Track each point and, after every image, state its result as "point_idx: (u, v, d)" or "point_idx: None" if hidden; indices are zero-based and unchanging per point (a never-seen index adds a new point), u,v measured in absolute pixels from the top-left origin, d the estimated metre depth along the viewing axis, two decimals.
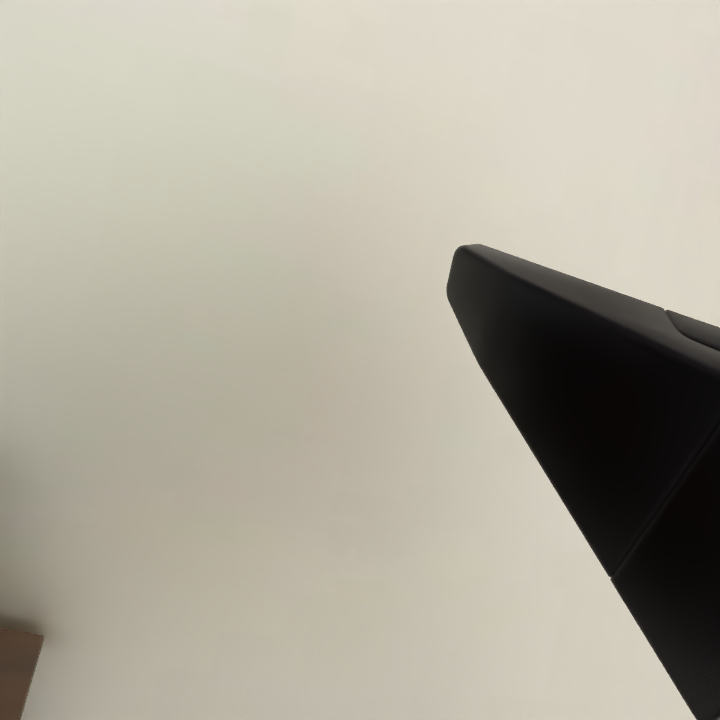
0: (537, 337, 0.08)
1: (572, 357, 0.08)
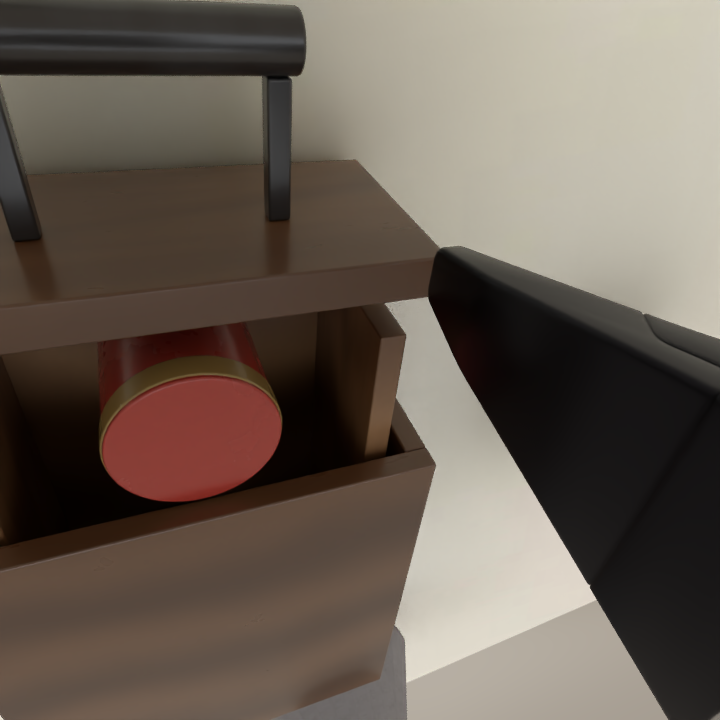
0: (515, 341, 0.08)
1: (549, 361, 0.08)
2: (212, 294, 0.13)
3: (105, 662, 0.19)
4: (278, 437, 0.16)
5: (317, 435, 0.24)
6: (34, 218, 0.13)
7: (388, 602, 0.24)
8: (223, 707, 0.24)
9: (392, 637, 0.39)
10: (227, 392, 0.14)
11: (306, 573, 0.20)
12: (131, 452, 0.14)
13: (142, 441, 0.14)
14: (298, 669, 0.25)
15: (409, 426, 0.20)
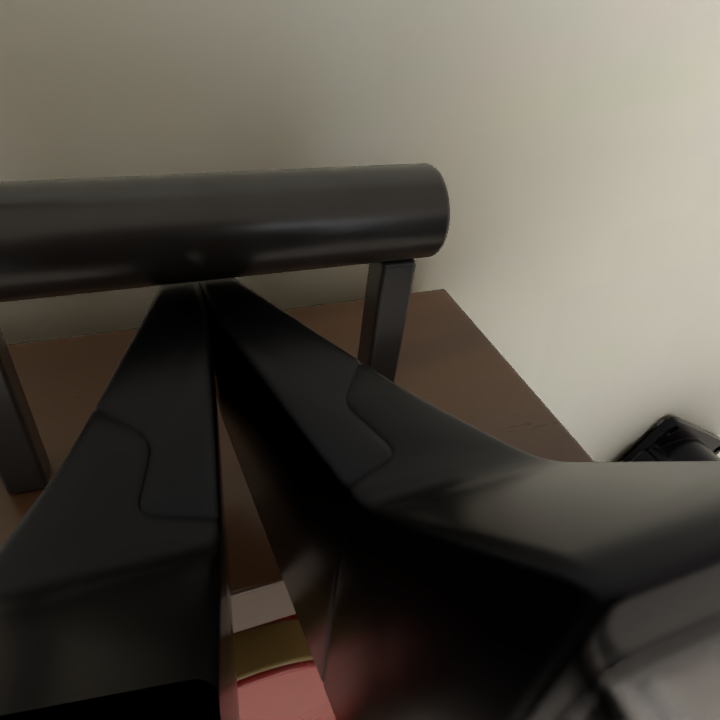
0: (238, 390, 0.07)
1: (258, 419, 0.06)
2: None
3: None
4: None
5: None
6: (40, 464, 0.09)
7: None
8: None
9: None
10: (308, 673, 0.10)
11: None
12: None
13: None
14: None
15: None
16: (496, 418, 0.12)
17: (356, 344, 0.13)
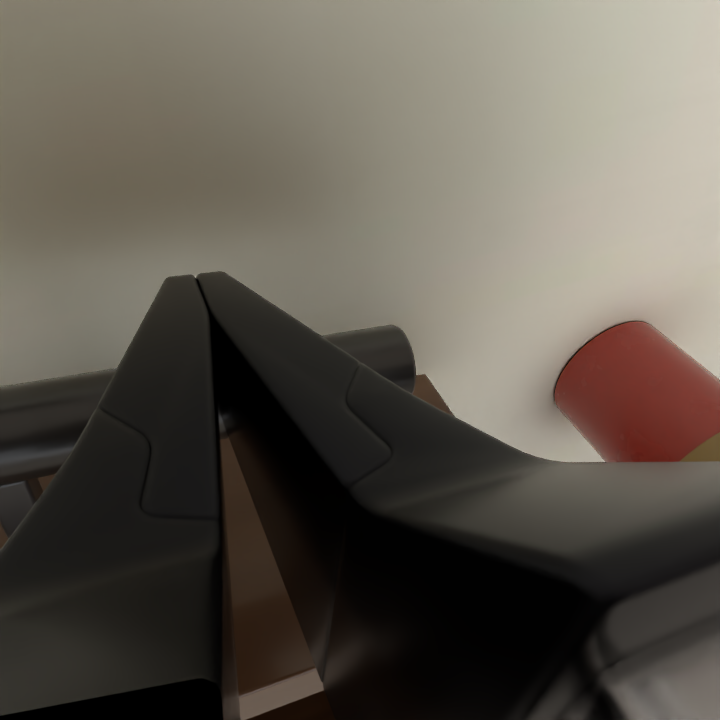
0: (237, 390, 0.07)
1: (257, 419, 0.06)
2: (296, 683, 0.10)
3: None
4: None
5: None
6: None
7: None
8: None
9: None
10: None
11: None
12: None
13: None
14: None
15: None
16: None
17: None
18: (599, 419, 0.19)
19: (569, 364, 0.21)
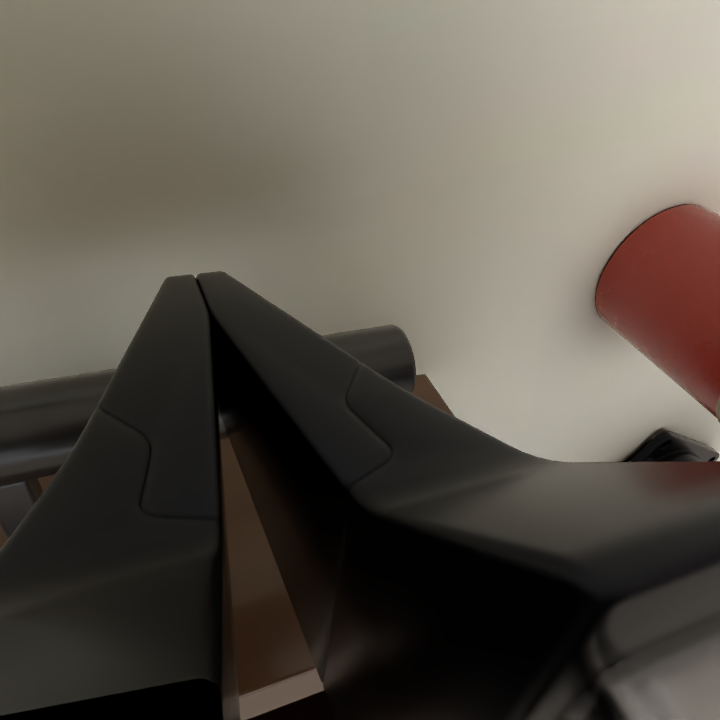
0: (237, 390, 0.07)
1: (257, 419, 0.06)
2: (296, 683, 0.10)
3: None
4: None
5: None
6: None
7: None
8: None
9: None
10: None
11: None
12: None
13: None
14: None
15: None
16: None
17: None
18: (654, 311, 0.17)
19: (615, 254, 0.18)
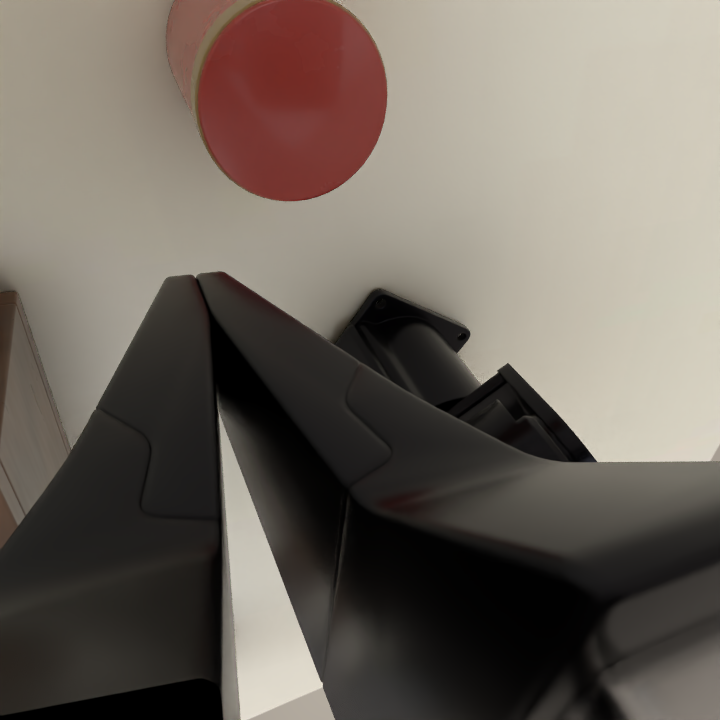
0: (237, 390, 0.07)
1: (257, 419, 0.06)
2: None
3: None
4: (316, 2, 0.12)
5: None
6: None
7: None
8: None
9: None
10: (228, 65, 0.12)
11: None
12: (288, 176, 0.14)
13: (279, 163, 0.14)
14: None
15: None
16: None
17: None
18: (175, 60, 0.15)
19: None
